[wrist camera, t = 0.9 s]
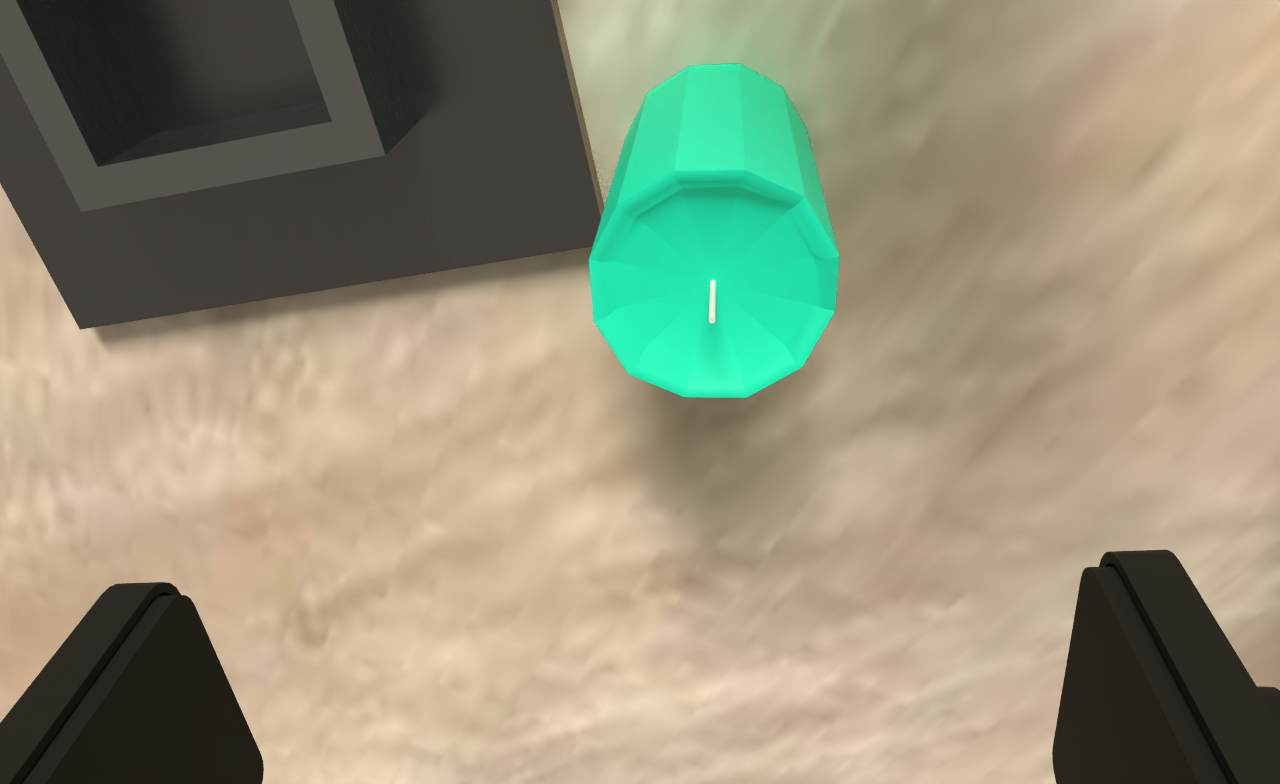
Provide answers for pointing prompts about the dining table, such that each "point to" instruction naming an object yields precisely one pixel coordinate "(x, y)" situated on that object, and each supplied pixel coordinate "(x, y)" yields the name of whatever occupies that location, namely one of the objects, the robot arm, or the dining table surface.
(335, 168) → the socket holder
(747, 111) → the candle
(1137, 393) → the dining table surface
